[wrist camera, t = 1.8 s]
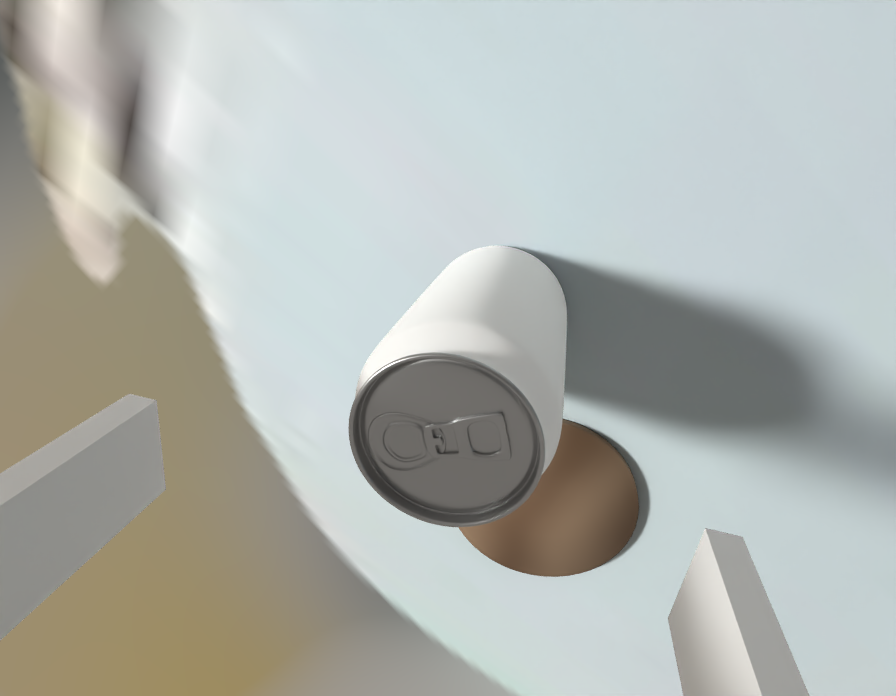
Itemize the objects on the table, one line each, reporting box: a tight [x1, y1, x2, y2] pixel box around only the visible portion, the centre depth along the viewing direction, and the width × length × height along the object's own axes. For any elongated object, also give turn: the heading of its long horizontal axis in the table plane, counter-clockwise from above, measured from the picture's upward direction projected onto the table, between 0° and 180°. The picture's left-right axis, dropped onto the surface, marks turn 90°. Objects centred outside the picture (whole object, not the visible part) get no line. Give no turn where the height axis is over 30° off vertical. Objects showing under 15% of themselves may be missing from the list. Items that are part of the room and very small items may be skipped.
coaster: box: [459, 419, 639, 577], centre depth 29 cm, size 10×10×1 cm
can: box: [349, 246, 567, 527], centre depth 20 cm, size 6×6×12 cm
